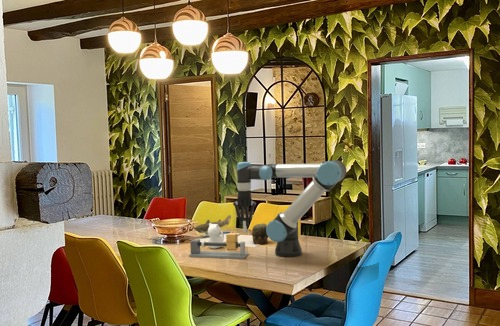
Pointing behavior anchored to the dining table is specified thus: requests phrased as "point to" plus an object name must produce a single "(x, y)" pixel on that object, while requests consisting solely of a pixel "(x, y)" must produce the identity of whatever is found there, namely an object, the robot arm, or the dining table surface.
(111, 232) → the dining table surface
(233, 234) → the sleeve
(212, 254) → the slider rail
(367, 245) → the dining table surface
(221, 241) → the cat figurine
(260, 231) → the carved stone head
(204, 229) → the wood carving
